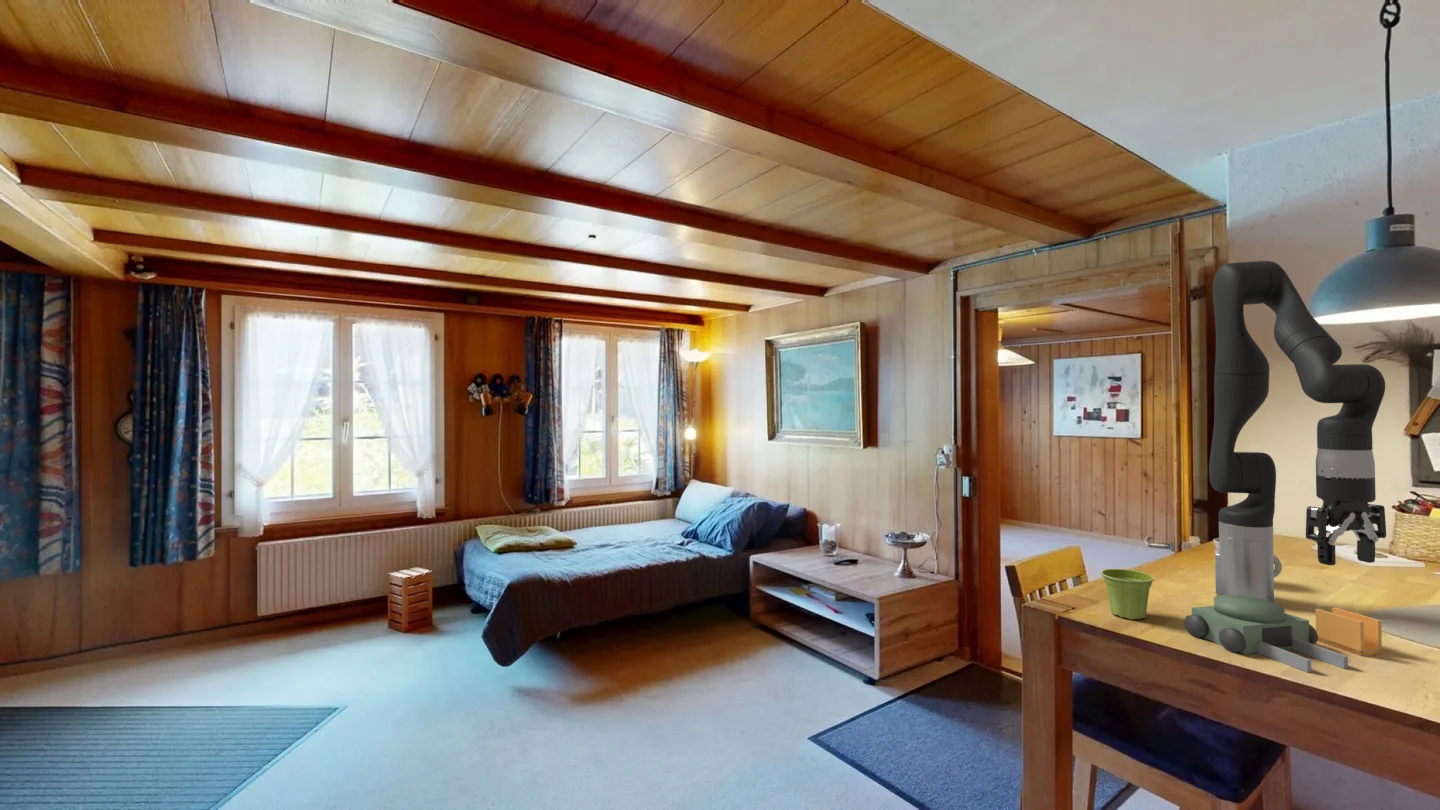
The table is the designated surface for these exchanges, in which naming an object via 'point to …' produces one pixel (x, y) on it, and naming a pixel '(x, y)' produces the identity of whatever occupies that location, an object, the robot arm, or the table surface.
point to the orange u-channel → (1349, 631)
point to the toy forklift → (1259, 631)
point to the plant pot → (1127, 592)
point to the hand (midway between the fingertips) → (1346, 563)
